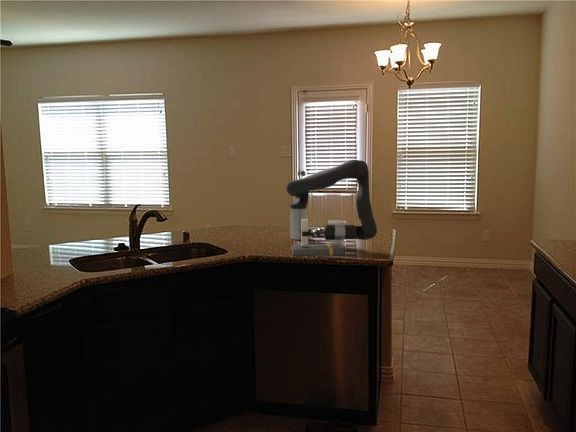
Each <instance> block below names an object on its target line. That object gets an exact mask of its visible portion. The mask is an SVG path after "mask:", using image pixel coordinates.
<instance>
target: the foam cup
mask: <svg viewBox="0 0 576 432" xmlns="http://www.w3.org/2000/svg"><path fill="white" fill-rule="evenodd" d="M327 224H340V225H347V224H348V223H347V221H346V220H338V219H337V220H328V222H327ZM329 241H330V244H340V245H341V246H342V247H343V248H344V242H345V239H342V240H329Z"/></svg>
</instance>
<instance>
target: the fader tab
mask: <svg viewBox="0 0 576 432" xmlns="http://www.w3.org/2000/svg"><path fill="white" fill-rule="evenodd" d="M308 228H309V219H308V218H307V219H301V240H300V244H301V247H309V244H310V243H309V236H302V232H308Z"/></svg>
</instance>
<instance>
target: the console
mask: <svg viewBox="0 0 576 432" xmlns="http://www.w3.org/2000/svg"><path fill="white" fill-rule="evenodd" d="M308 244H309V247H301V243H299V244H291V253H292V256H297V257H298V256H344V255H345V252H344V251H345V249H344V246H343V247H342V246H341V245H340V244H331V243H325V244H324V243H322V244H321V243H317V244H315V243H314V244H312V243H311V244H310V243H308Z"/></svg>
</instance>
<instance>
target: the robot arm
mask: <svg viewBox="0 0 576 432" xmlns="http://www.w3.org/2000/svg"><path fill="white" fill-rule="evenodd" d="M369 171H370V170H369V166H368V164H367V162H366V161H365V160H360V159H350V160H347V161H345V162H343V163H342V164H340V165H337V166H334V167H330V168H328V169H324V170H320V171H317V172H315V173H313V174H310V175H308V176H306V177H302V178H298V179H293V180H291V181H289V182H288V184H287V185H286V192H287V193H288V195H289V196H291V197H295V199H294V201H292V202H291V203H290V205H289V206H290V209H289V210H290V211H289V212H290V213H289V214H290V217H289V220H290V223H289V224H290V225H289V226H290V227H289V228H290V231H289V232H290V234H289V235H290V239H291V240H296V241H298V240H300V241H301V219H308V216H307V215H308V213H307V209H308V208H307V207H308V203H309V196H310V195H309V193H310V191H318V190H319V191H320V190H323V189H326V188H331V187H332V186H334V185H335V184H337V183H338V182H339V181H343V180H348V179H349V180H350V179H352V180H353V179H355V180H356V181H357V185H358V192H357V195H356V200H355V201H356V204H355V205H356V213H357V217H358V219H359V220H360V224H361V225H354V224H346V225H340V224H328V223H327V224H325V225H324V228H322V227H312V226H311V227H308V232H302V236H308V237H311V238H324V239H325V241H330V240H342V239H344V240H360V241H361V240H363V241H366V240H368V241H369V240H371V239H374V238H375V237H376V236H377V233H378V229H377V224H376V221H375V218H374V216H373V215H374V214H373V209H372V204H371V198H370V178H369V177H370V176H369V175H370V174H369Z"/></svg>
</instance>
